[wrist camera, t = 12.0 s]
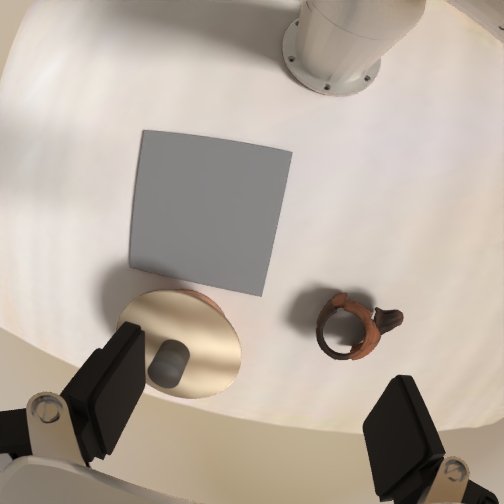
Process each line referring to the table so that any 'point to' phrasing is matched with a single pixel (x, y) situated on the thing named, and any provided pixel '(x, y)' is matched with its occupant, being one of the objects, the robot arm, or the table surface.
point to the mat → (207, 209)
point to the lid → (185, 343)
